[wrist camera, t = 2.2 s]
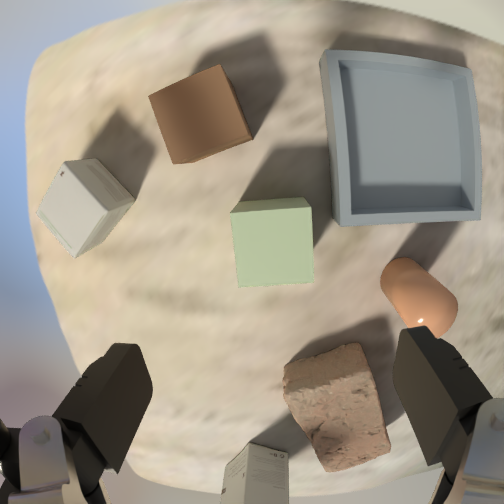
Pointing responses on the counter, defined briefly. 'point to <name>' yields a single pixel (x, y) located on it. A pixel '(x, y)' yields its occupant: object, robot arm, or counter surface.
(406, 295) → the peach capsule
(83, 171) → the small box
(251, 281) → the green block
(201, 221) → the counter surface
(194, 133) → the walnut cube
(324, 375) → the brick
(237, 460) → the skincare box
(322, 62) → the tray
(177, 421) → the counter surface
